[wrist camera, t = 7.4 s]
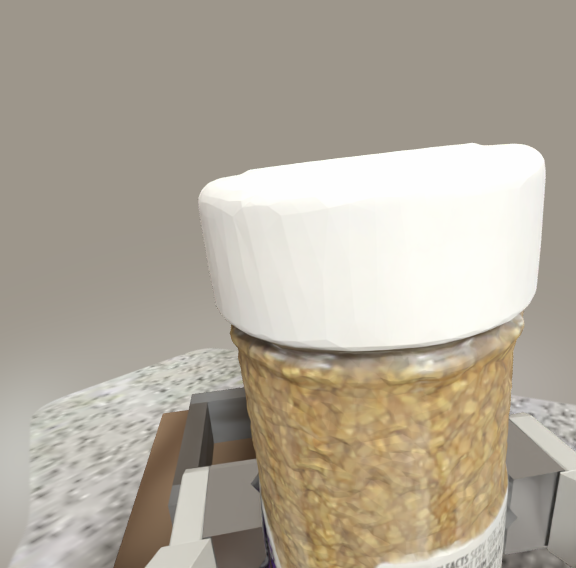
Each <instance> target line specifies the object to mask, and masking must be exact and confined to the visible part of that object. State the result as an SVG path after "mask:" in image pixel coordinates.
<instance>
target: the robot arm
mask: <svg viewBox="0 0 576 568" xmlns="http://www.w3.org/2000/svg"><path fill="white" fill-rule="evenodd" d="M506 467H507V474H508V495H507V510H506V521H505V532H504V543H503V553H504V554H505V555H507V554H513V553H519V552H524V551H530V550H536V549H542V548H548V549H547V550H548V551H549V552H551V553H552V554H553V555H555V556H556V557H558V558H559V559H560V560H562V561H563V562H565V563H566V564H568V565H569V566H570V567H572V568H576V452H575V451H573V450H572V449H571V448H570V447H569V446H567V445H566V444H565V443H564V442H563V441H561V440H560V439H559V438H558V437H557V436H555V435H554V434H553V433H552V432H551V431H549V430H548V429H547V428H546V427H545V426H543V425H542V424H541V423H540V422H539V421H537V420H536V419H535V418H534V417H533V416H531V415H529V414H527V413H524V412H522V413H517V414H512V415H509V422H508V436H507V453H506ZM145 568H271V564H270V557H269V550H268V541H267V535H266V528H265V522H264V517H263V510H262V503H261V497H260V490H259V472H258V465H257V459H251V460H244V461H237V462H230V463H223V464H216V465H211V466H207V467H199V468H192V469H186V470H185V472H184V474H183V476H182V481H181V486H180V491H179V497H178V502H177V507H176V512H175V518H174V523H173V528H172V533H171V539H170V544H169V546H165V547H161V548H160V549H159V550H158V552H157V553H156V554H155V555H154V557H153V558H152V559H151V560H150V562H149V563H148V564H147V565H146V567H145Z"/></svg>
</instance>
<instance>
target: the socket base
mask: <svg viewBox="0 0 576 568" xmlns="http://www.w3.org/2000/svg"><path fill="white" fill-rule="evenodd" d="M251 459H256V453H255V449H254V446H253V441H252V433H251V420H250V417H249V415H248V411H247V401H246V393H245V388H244V387H243V388H236V389H229V390H221V391H214V392H206V393H199V394H192V397H191V402H190V406H189V410H186V411H178V412H171V413H164V414H163V415H162V418H161V421H160V424H159V427H158V431H157V434H156V437H155V440H154V443H153V446H152V449H151V452H150V456H149V459H148V462H147V465H146V468H145V471H144V474H143V477H142V480H141V484H140V487H139V490H138V493H137V496H136V499H135V502H134V505H133V508H132V512H131V515H130V518H129V521H128V524H127V527H126V530H125V533H124V537H123V540H122V543H121V546H120V549H119V552H118V555H117V558H116V561H115V565H114V568H145V567H146V565H147V564H148V563H149V562H150V560H151V559H152V558H153V557H154V555H155V554H156V553H157V552H158V550H159V549H160V548H161V547H165V546H169V544H170V539H171V533H172V528H173V523H174V518H175V512H176V507H177V502H178V497H179V491H180V486H181V481H182V476H183V474H184V472H185V470H186V469H192V468H199V467H207V466H211V465H216V464H223V463H230V462H237V461H244V460H251ZM268 550H269V548H268ZM269 557H270V554H269ZM270 564H271V559H270ZM271 568H272V565H271Z"/></svg>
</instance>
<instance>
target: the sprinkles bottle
mask: <svg viewBox="0 0 576 568" xmlns="http://www.w3.org/2000/svg"><path fill="white" fill-rule="evenodd" d="M545 175H546V172H545V162H544V159H543V157H542V156H541V154H540V153H539V152H538V151H537V150H535V149H534V148H532V147H529V146H527V145H523V144H503V145H488V146H482V145H478V144H475V143H469V144H462V145H461V144H460V145H451V146H441V147H432V148H423V149H415V150H406V151H396V152H389V153H381V154H372V155H364V156H356V157H347V158H338V159H331V160H323V161H314V162H306V163H298V164H291V165H282V166H276V167H267V168H260V169H252V170H248V171H247V172H245V173H243V174H241V175H236V176H230V177H225V178H220V179H217V180H215V181H213V182H210V183H208V184H207V185H206V186H205V187H204V188H203V190H202V191H201V193H200V195H199V199H198V205H199V214H200V220H201V226H202V233H203V238H204V245H205V251H206V256H207V262H208V267H209V272H210V277H211V283H212V287H213V293H214V298H215V303H216V307H217V309H218V310H219V312H220V314H222V316H223V317H224V318H225V320H226V321H228V322H229V323H230V324H231V331H230V335H231V339H232V341H233V343H234V344H235V345H236V346H237V347H238V350H239V352H238V359H239V363H240V367H241V374H242V379H243V384H244V388H245V393H246V401H247V411H248V415H249V417H250V420H251V433H252V441H253V446H254V449H255V453H256V459H257V465H258V472H259V490H260V497H261V503H262V510H263V517H264V522H265V528H266V535H267V541H268V548H269V554H270V559H271V565H272V568H501V566H502V554H503V543H504V532H505V521H506V510H507V495H508V474H507V467H506V453H507V436H508V422H509V411H510V401H511V388H512V383H511V381H512V374H513V373H512V372H513V370H512V369H513V350H514V346H515V343H516V339H517V338H518V337H519V336H520V335H521V333H522V331H523V328H524V319H523V313H524V309H525V308H526V307H527V306H528V305H529V303H530V302H531V299H532V298H533V296H534V294H535V292H536V287H537V278H538V267H539V256H540V246H541V234H542V233H541V232H542V219H543V205H544V191H545Z"/></svg>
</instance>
